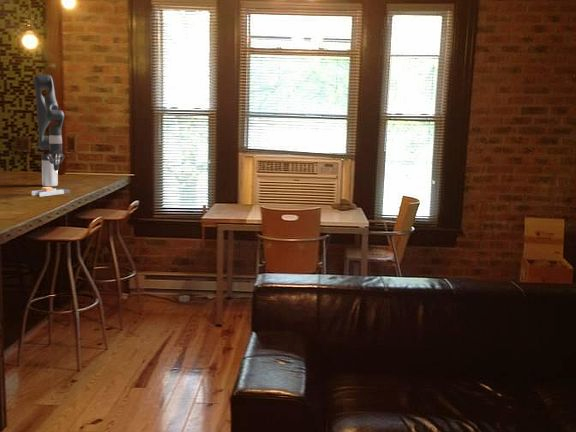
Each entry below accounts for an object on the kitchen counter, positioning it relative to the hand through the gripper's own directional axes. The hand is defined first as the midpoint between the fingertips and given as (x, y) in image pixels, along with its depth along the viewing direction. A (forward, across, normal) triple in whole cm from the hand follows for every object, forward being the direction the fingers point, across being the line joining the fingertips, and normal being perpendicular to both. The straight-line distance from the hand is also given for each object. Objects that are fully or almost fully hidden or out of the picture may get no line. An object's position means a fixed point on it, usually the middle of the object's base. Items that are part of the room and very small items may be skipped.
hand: (56, 170), depth 419 cm
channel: (+14, +7, 0) cm, 16 cm away
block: (+15, +7, 0) cm, 16 cm away
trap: (+14, -5, 0) cm, 15 cm away
